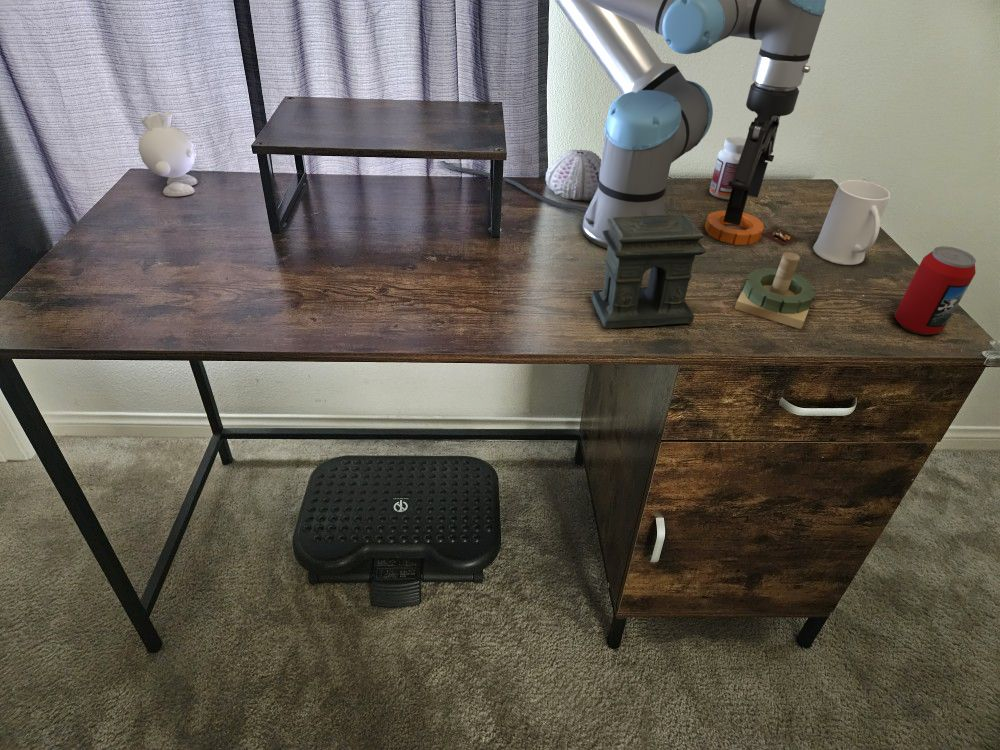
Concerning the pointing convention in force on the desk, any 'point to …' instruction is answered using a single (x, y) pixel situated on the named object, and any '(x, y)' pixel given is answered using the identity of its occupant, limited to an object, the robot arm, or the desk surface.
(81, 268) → the desk surface
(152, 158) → the white cartoon figurine
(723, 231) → the orange ring
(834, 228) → the mug
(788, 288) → the stacker
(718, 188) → the pill bottle
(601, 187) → the robot arm
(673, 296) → the model
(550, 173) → the sea urchin shell
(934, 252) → the beverage can
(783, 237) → the diorama
